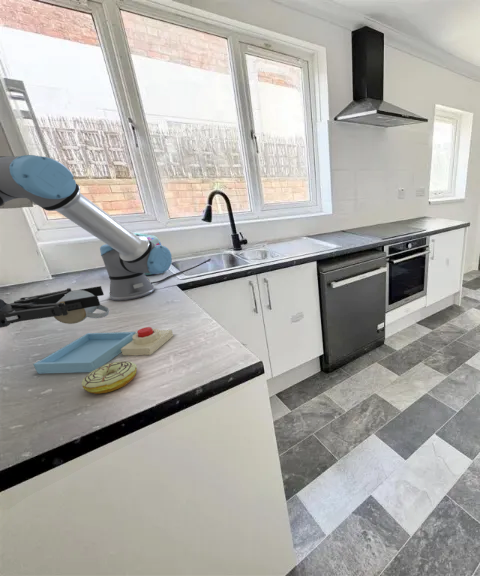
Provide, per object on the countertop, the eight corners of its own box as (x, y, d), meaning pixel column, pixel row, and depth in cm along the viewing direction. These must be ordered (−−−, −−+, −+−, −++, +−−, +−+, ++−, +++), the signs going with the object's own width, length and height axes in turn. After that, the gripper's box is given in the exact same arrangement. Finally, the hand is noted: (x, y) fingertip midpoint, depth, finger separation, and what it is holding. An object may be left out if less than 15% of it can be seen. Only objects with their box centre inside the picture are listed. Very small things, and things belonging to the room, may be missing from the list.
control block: (148, 336, 100) (144, 325, 98) (173, 335, 100) (170, 324, 99) (122, 355, 90) (118, 343, 88) (150, 354, 90) (146, 342, 88)
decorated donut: (143, 365, 85) (139, 353, 83) (134, 388, 76) (129, 375, 75) (94, 376, 80) (89, 364, 79) (79, 402, 71) (73, 388, 70)
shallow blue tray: (91, 341, 97) (87, 333, 96) (138, 340, 98) (135, 331, 97) (37, 373, 82) (33, 364, 81) (94, 372, 82) (90, 362, 81)
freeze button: (144, 332, 95) (142, 327, 95) (156, 331, 95) (154, 326, 95) (135, 338, 92) (134, 332, 91) (148, 337, 92) (146, 332, 91)
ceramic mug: (54, 327, 83) (44, 301, 80) (69, 315, 90) (60, 291, 87) (104, 321, 87) (95, 295, 84) (114, 310, 94) (107, 286, 91)
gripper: (3, 314, 86) (108, 296, 98) (-31, 347, 70) (100, 320, 82) (-10, 289, 83) (100, 273, 96) (-47, 317, 67) (90, 294, 79)
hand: (100, 295), depth 89 cm, fingers closed on ceramic mug, 9 cm apart
